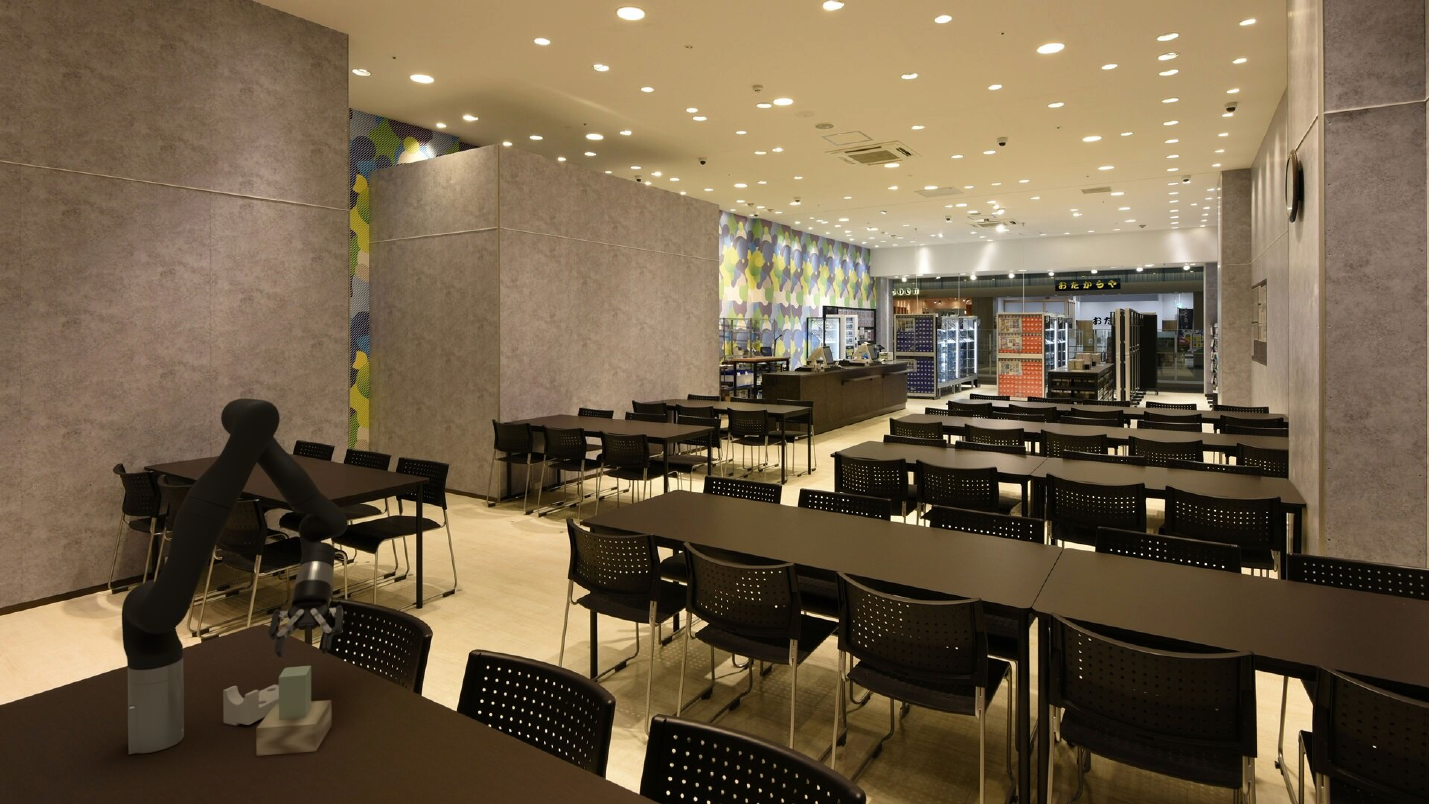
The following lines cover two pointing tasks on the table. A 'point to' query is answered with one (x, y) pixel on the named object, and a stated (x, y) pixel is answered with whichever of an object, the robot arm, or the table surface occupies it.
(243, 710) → the bracket
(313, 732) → the birch block
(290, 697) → the green prism
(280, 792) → the table surface
